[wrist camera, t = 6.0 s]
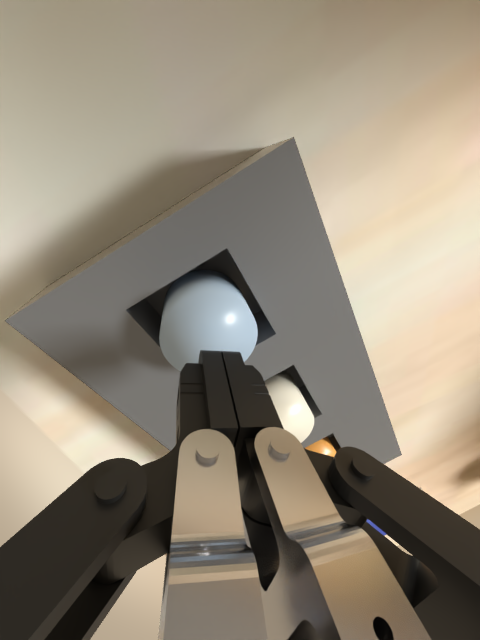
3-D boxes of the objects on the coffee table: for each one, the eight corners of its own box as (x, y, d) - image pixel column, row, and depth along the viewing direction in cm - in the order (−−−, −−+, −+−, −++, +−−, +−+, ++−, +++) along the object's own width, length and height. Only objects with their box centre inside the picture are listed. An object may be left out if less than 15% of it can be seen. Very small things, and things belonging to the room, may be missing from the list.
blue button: (146, 298, 14) (137, 328, 11) (218, 253, 13) (228, 274, 10) (193, 353, 16) (195, 391, 13) (256, 317, 15) (272, 347, 13)
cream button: (223, 389, 18) (231, 428, 15) (280, 357, 17) (298, 391, 14) (252, 423, 20) (263, 463, 17) (303, 395, 19) (323, 431, 17)
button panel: (46, 286, 15) (4, 320, 11) (264, 147, 13) (293, 136, 10) (253, 481, 28) (263, 524, 24) (373, 418, 26) (401, 454, 23)
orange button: (267, 434, 23) (279, 469, 20) (312, 410, 22) (330, 443, 20) (286, 457, 25) (299, 492, 22) (327, 436, 24) (346, 468, 22)
